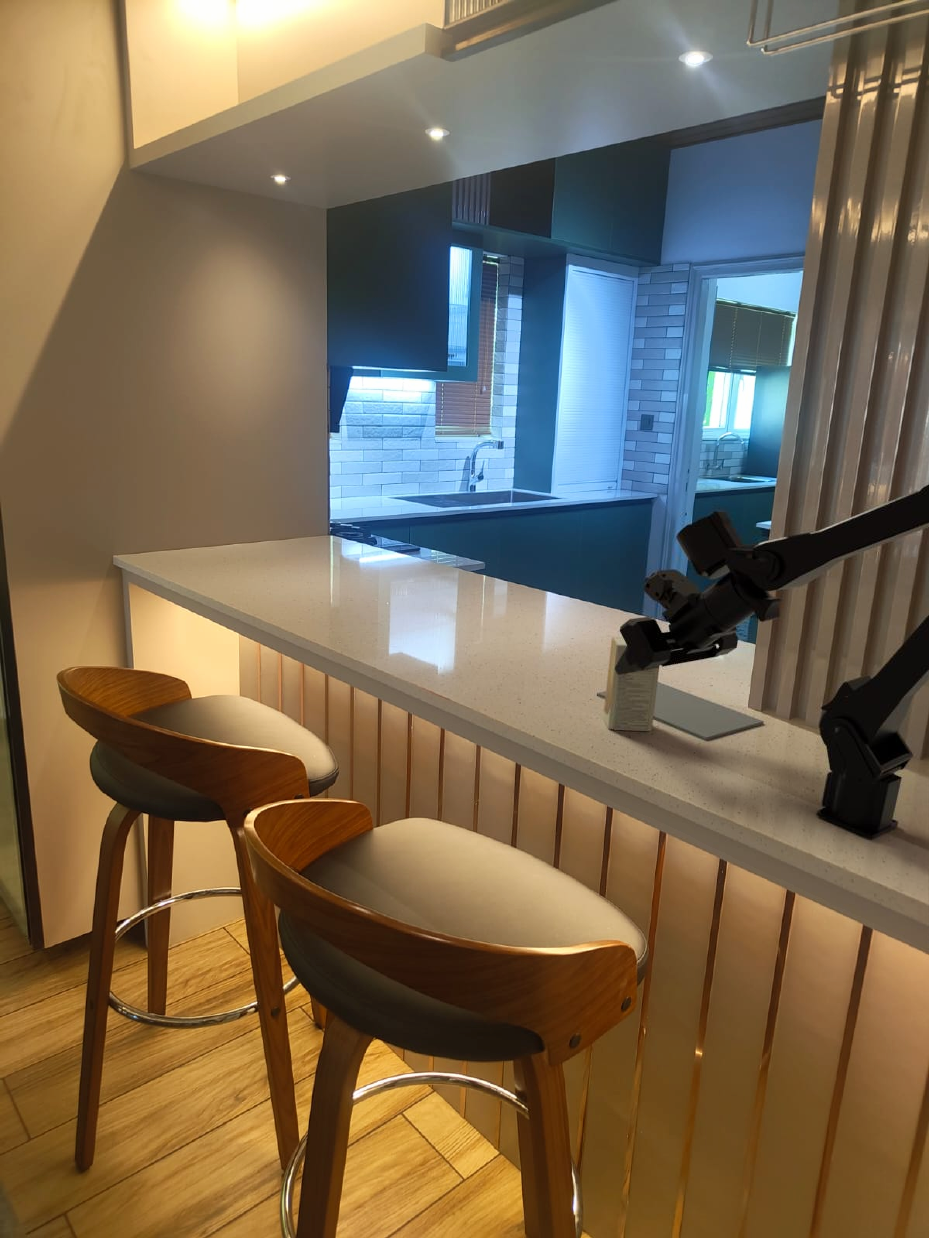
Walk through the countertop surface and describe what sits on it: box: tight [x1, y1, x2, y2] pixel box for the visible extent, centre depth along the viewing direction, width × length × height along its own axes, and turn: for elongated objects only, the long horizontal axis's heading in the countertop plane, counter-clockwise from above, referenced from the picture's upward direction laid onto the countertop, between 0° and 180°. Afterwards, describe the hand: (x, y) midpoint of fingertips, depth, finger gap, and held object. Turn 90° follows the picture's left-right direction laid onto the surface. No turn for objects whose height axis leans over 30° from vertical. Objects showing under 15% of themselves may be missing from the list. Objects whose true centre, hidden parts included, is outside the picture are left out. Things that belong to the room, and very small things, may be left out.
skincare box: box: [602, 636, 660, 732], centre depth 120 cm, size 6×4×12 cm
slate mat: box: [596, 681, 765, 741], centre depth 130 cm, size 20×14×1 cm
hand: (639, 667), depth 119 cm, fingers open, 9 cm apart
